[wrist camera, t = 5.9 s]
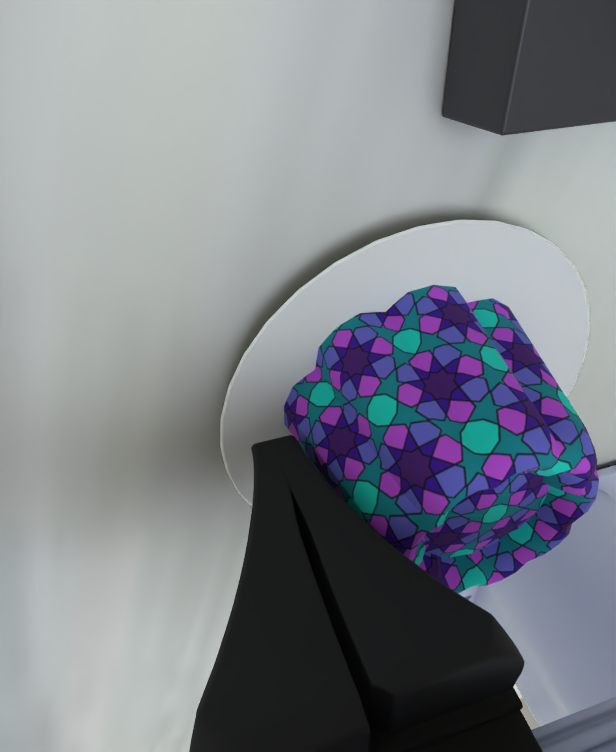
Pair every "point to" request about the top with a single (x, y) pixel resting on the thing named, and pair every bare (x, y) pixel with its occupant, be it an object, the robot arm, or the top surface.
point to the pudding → (432, 394)
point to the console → (532, 64)
